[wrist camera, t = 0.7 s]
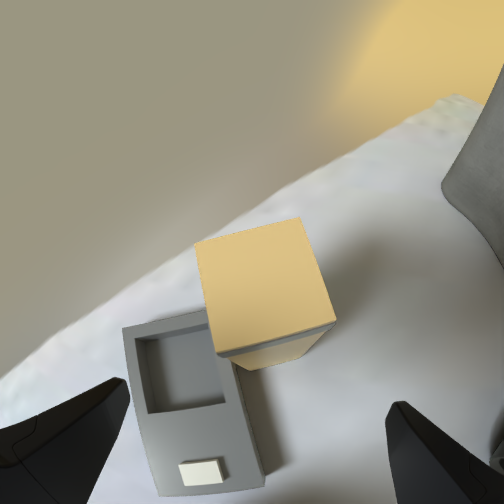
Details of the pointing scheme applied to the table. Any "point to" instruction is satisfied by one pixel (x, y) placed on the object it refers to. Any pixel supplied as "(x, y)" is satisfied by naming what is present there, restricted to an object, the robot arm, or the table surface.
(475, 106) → the table surface
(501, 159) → the flask
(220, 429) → the bar
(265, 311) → the plug
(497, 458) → the muzzle brake
